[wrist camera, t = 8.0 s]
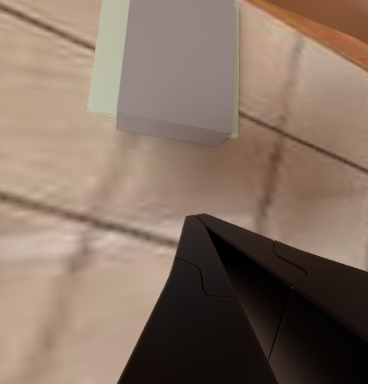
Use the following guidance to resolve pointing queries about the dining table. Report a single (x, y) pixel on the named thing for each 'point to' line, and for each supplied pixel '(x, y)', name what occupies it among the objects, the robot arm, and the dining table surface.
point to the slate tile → (178, 70)
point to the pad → (113, 57)
